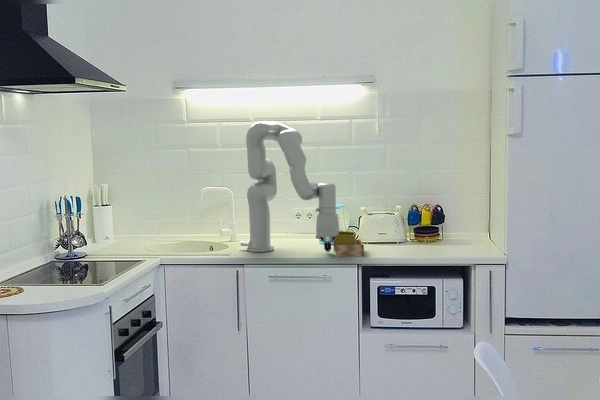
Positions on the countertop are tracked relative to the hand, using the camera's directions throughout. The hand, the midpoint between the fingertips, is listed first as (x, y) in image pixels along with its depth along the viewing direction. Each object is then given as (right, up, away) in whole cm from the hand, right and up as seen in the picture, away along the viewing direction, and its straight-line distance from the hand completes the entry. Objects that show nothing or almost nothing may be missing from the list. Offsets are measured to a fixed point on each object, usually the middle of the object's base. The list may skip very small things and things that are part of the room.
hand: (327, 251), depth 292 cm
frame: (+9, -1, 0) cm, 9 cm away
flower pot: (+8, -1, +1) cm, 8 cm away
